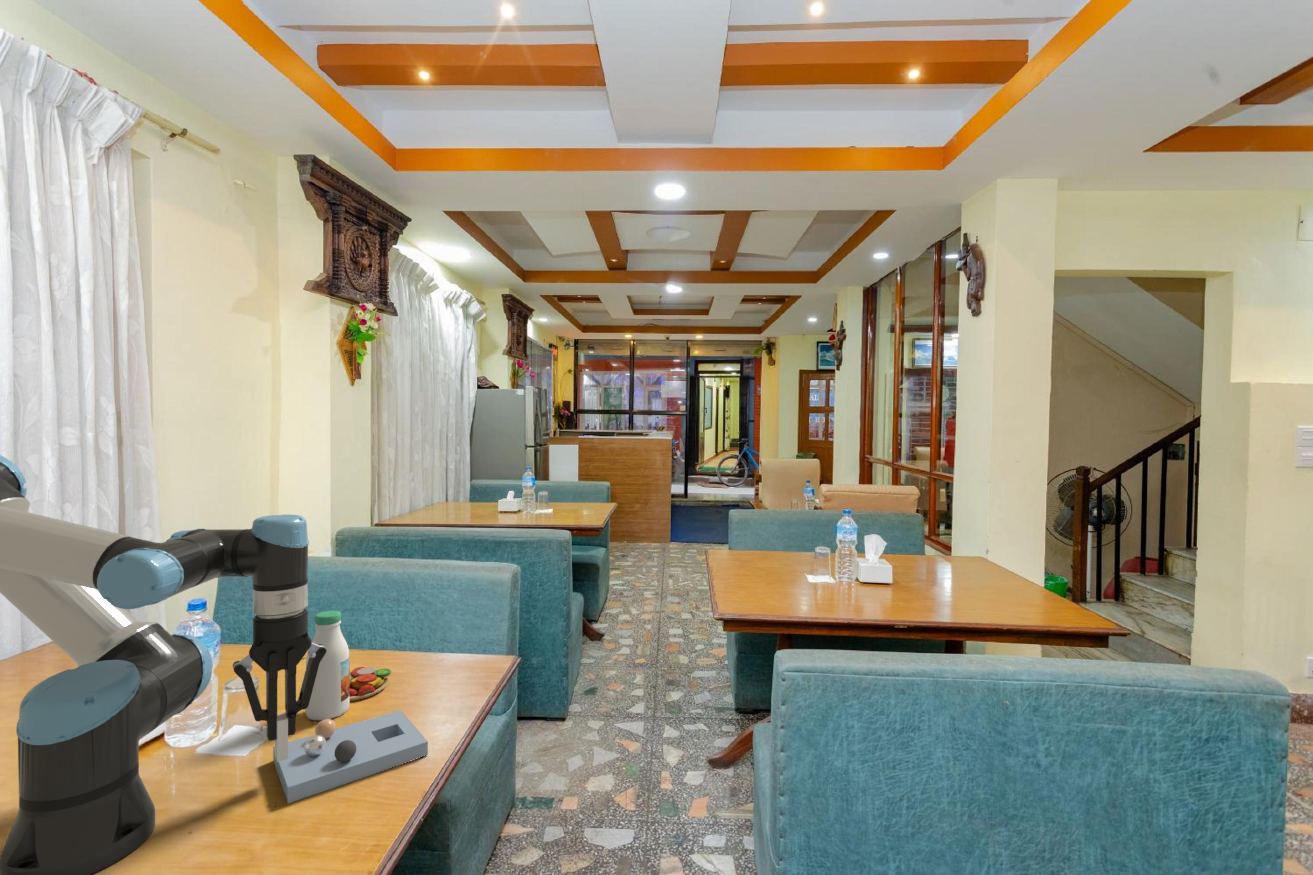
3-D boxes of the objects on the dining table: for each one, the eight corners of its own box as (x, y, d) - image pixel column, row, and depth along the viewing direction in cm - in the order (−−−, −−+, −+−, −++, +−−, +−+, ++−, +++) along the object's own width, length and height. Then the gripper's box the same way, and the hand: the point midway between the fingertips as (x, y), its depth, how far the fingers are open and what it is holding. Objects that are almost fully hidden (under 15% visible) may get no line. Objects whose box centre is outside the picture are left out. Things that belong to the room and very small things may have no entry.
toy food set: (306, 701, 124) (306, 686, 124) (348, 675, 137) (348, 661, 137) (364, 706, 122) (364, 691, 122) (401, 680, 135) (401, 665, 135)
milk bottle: (330, 723, 114) (330, 620, 114) (296, 719, 116) (296, 617, 116) (358, 705, 122) (358, 608, 122) (325, 701, 124) (325, 606, 123)
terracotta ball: (317, 744, 102) (317, 726, 102) (313, 737, 105) (313, 719, 105) (337, 738, 104) (337, 720, 104) (333, 731, 107) (333, 713, 107)
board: (287, 803, 90) (287, 787, 90) (273, 760, 102) (273, 746, 102) (427, 755, 104) (427, 741, 104) (400, 722, 115) (400, 709, 115)
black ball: (337, 768, 95) (337, 748, 95) (332, 759, 98) (332, 740, 98) (358, 761, 97) (358, 741, 97) (353, 752, 100) (353, 734, 100)
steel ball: (306, 762, 97) (306, 742, 97) (302, 753, 99) (302, 735, 99) (328, 755, 99) (328, 736, 99) (324, 747, 101) (324, 729, 101)
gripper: (233, 626, 88) (234, 782, 89) (331, 609, 97) (331, 752, 97) (229, 613, 94) (229, 760, 95) (321, 599, 103) (321, 734, 103)
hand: (281, 756), depth 96 cm, fingers closed
